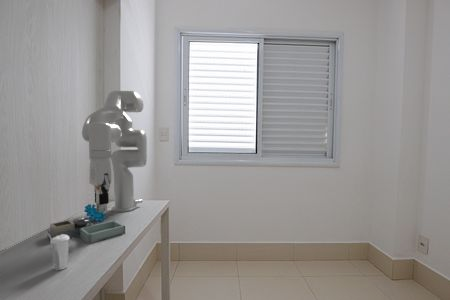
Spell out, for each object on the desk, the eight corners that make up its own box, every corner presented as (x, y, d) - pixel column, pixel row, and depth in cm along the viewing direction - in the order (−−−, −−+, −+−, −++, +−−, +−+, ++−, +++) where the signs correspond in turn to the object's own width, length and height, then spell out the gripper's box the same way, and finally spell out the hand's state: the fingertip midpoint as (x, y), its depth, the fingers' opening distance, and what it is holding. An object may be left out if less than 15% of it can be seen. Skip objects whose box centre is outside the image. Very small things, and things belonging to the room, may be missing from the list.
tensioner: (88, 227, 103) (87, 214, 103) (94, 232, 97) (94, 218, 97) (47, 237, 93) (46, 222, 93) (52, 242, 87) (52, 227, 87)
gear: (95, 221, 105) (82, 204, 107) (85, 231, 106) (73, 213, 108) (111, 217, 116) (99, 201, 118) (103, 226, 117) (91, 210, 119)
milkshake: (54, 264, 72) (53, 230, 71) (73, 263, 72) (72, 229, 72) (44, 272, 67) (43, 236, 67) (64, 271, 68) (63, 235, 67)
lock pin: (105, 208, 97) (104, 183, 97) (110, 210, 94) (109, 184, 94) (93, 210, 94) (92, 184, 94) (97, 212, 91) (97, 185, 91)
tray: (114, 227, 103) (114, 220, 102) (125, 233, 96) (125, 225, 96) (79, 236, 93) (79, 228, 93) (89, 243, 86) (88, 235, 86)
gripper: (82, 155, 96) (83, 201, 97) (98, 156, 85) (99, 208, 85) (102, 154, 102) (103, 198, 102) (119, 155, 90) (121, 204, 91)
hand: (101, 202), depth 94 cm, fingers closed on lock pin, 3 cm apart
